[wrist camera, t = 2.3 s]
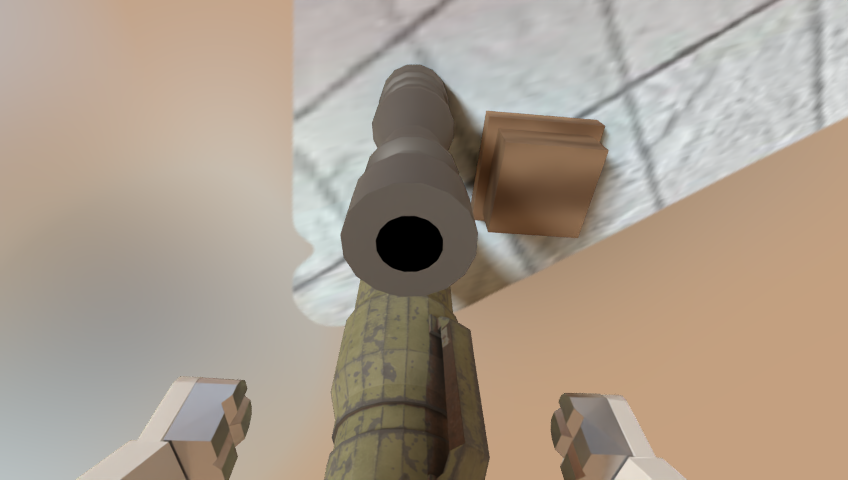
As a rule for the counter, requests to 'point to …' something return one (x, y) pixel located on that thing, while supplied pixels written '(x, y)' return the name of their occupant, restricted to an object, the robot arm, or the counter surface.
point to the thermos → (406, 393)
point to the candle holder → (410, 194)
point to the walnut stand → (537, 173)
